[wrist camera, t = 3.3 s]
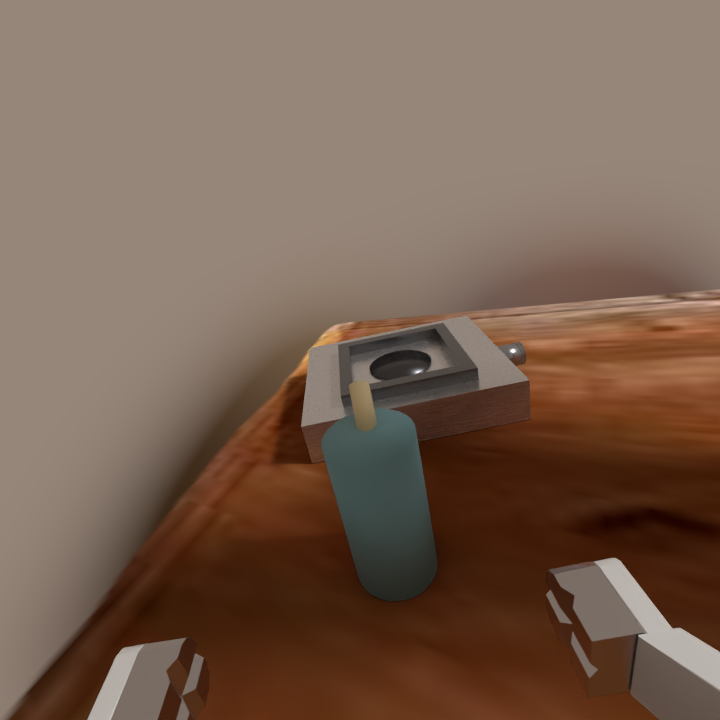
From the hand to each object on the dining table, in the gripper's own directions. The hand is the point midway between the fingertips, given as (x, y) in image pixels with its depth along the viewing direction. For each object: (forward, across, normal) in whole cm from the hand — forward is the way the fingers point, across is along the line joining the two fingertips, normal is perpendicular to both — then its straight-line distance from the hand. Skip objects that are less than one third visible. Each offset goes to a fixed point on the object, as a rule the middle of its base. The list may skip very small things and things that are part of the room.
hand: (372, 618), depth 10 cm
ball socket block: (+34, -6, +13) cm, 37 cm away
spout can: (+13, 0, +14) cm, 19 cm away
